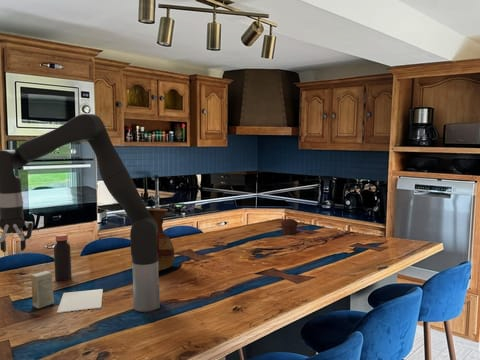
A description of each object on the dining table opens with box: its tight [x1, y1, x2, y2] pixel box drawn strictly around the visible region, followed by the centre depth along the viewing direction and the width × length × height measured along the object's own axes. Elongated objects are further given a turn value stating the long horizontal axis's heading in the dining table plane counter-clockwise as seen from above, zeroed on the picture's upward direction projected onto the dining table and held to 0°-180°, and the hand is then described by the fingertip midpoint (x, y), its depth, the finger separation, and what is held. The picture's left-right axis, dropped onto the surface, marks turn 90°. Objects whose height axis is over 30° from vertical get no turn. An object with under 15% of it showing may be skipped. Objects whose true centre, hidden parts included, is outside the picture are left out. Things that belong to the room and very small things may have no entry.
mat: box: [56, 288, 104, 314], centre depth 158 cm, size 15×20×1 cm
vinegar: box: [53, 233, 72, 282], centre depth 183 cm, size 7×7×20 cm
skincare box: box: [30, 270, 55, 309], centre depth 153 cm, size 6×4×12 cm
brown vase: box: [146, 207, 175, 272], centre depth 196 cm, size 20×20×30 cm
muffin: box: [280, 218, 299, 236], centre depth 274 cm, size 12×11×10 cm
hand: (13, 250), depth 149 cm, fingers open, 5 cm apart
